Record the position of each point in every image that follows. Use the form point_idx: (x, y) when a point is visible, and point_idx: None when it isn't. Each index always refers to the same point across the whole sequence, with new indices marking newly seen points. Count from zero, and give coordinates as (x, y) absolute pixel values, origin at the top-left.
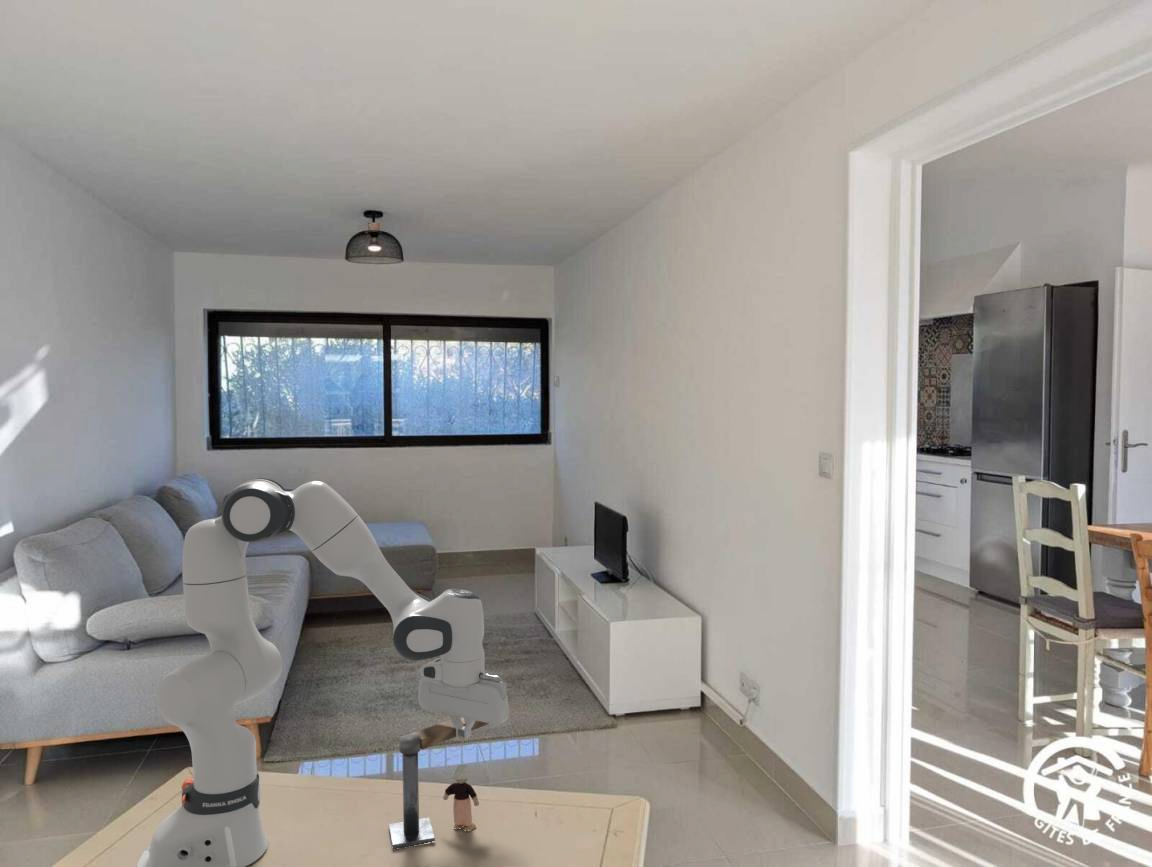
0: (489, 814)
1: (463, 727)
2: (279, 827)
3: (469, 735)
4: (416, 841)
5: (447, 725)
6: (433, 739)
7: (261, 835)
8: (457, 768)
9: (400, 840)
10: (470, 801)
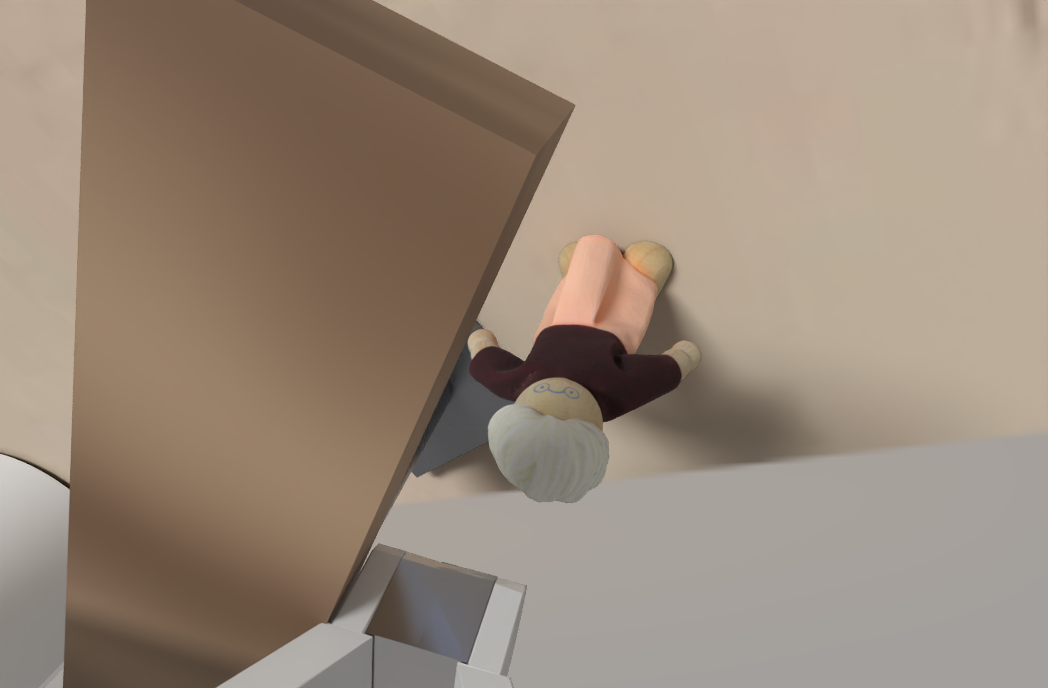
0: (699, 110)
1: (398, 665)
2: (10, 406)
3: (518, 620)
4: (483, 443)
5: (190, 635)
6: None
7: (57, 554)
8: (520, 487)
9: (424, 450)
10: (639, 343)
